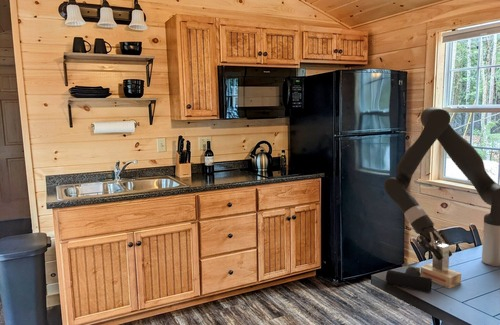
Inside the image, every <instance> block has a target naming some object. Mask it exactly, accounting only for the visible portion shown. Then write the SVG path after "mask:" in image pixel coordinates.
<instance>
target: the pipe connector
mask: <svg viewBox="0 0 500 325" xmlns="http://www.w3.org/2000/svg"><path fill="white" fill-rule="evenodd" d="M386 271H387V272H386V275H385V281H386V282H385V284H390V285H394V286H399V287H402V288H407V289H412V290H416V291H420V292H424V293H429V294H430V293H431V292H432V287H433V281H432V279H430V278H426V277H421V267H415V266H413V265H411V266H410V265H408V266H407V267H406V270H405V272H400V271H396V270H391V269H388V270H386Z"/></svg>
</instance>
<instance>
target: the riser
mask: <svg viewBox="0 0 500 325" xmlns="http://www.w3.org/2000/svg"><path fill="white" fill-rule="evenodd" d="M432 263H433V262H431V263H428V264H425V265H422V266H420V273H421V277H426V278H430V279H432V283H436V284H438V285H440V286H443V287H445V288H447V289H451V288H454V287H456V286H458V285H461V284H462V273H461V272H458V271H455V270H453V269H451V268H449V271H446V272H443V273H441V272H438V271H435V270H433V269H432Z"/></svg>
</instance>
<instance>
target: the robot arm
mask: <svg viewBox="0 0 500 325" xmlns="http://www.w3.org/2000/svg"><path fill="white" fill-rule="evenodd" d="M420 122H421V124H422V125H423V128H422V131H421V133H420V134H419V136H418V137H417V139H416V141H414V142H413V144H412V145H410V147H409V148H408V149H407V150H406V151H405V153H404V154H403V156H402V157H401V159H400V161H398V162H399V163H397V166H396V171H397V173H396V175H395V177H388V178H387V179H385V181H384V183H383V188H384V190H385V192H386V194H387V195H388V196H389V197H390V198H391V199H392V201H393V202H395V204H396V205H397V206H398V207H399V209H400V210H401V212H402V214H404V216H405V218H406V220H407V221H408V223H409V225H410V226H411V227H412V229H413V231H414V232H415V233H416V234H417V235H419V236H418V237H417V238H416V242H418V244H420V246H421V247H422V248H423V249H424V250H425V251H426V252H431V253H432V255H433V254H434V255H435V257H436V258H437V259H438V260H441V259H443V256H442V254H441V253H440V252H439V250H438V249H437V248H436V245H435V244H436V243H439V242H440V243H443V244H447V245H449V244H450V243H449V240H448V238H447V236H446V234H445V233H444V230H443V229H440V230H437V229H436V228H435V227H434V225H435V224H434V222H433V221H432V219H431V217H430V216H429V215H428V214H427V212H426V211H425V209H424V208H423V207H422V206H421V205H420V204H419V203H418V201H417V200H416V198H415V197H414V196H413V195H411V194H410V193H408V191H407V190H408V189H409V186H410V184H411V181H412V177H413V175H414V174H415V171H417V168H418V167H419V165H420V164H421V162H422V160H423V158H424V157H425V156H426V154H427V153H428V151H429V150H430V148H432V146H433V145H434V144H435V142H436V141H438V142H439V143H440V145H441V147H442V149H444V151H445V153H446V154H447V156H448V157H449V158H450V159H451V161H452V162H453V163H454V164H455V165H456V167H457V168H458V169H459V170H460V171H461V173H462V174H463V175H464V176H465V177H466V178H467V179H468V181H469V182H470V183H471V185H472V186H473V187H474V188H475V190H476V191H477V193H478V196H479V197H480V198H481V199H482V201H483V202H484V203H485V204H486V205H489V206H490V211H489V213H486V214H484V215H483V229H482V230H483V231H482V248H481V249H482V252H481V261H482V263H484V264H486V265H489V266H493V267H500V184H499V183H497V182H496V181H494V179H492V178H491V176H490V175H489V174H488V172H487V171H486V168H485V163H484V160H483V158H482V156H481V155H480V153H479V152H478V151H477V150H476V149H475V148H474V146H473V145H472V144H471V143H470V142H469V141H468V140H467V139H466V138H464V136H462V135H460V134H459V133H458V132H457V131H456V130H455V129H454V128H453V127H452V126H451V124H450V123H451V115H450V112H448V110H446V109H444V108H441V107H437V106H431V107H427V108H425V109H424V110H423V111H422V112H421V114H420ZM452 256H453V253H452V251H451V250H450V249H449V258H450V257H452Z"/></svg>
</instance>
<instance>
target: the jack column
mask: <svg viewBox="0 0 500 325" xmlns="http://www.w3.org/2000/svg"><path fill="white" fill-rule="evenodd" d="M435 245H436V248H437V249H438V250H439V252H440V253H441V254H442V256H443V259H441V260H438V259H437V258H436V257H435V255H434V254H433V253H432V262H431V263H432V269H433V270H435V271H438V272H441V273H443V272H446V271H449V269H450V267H449V266H450V265H449V264H450V257H449V250H450V245H449V244H443V243H441V242H439V243H436V244H435Z"/></svg>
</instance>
